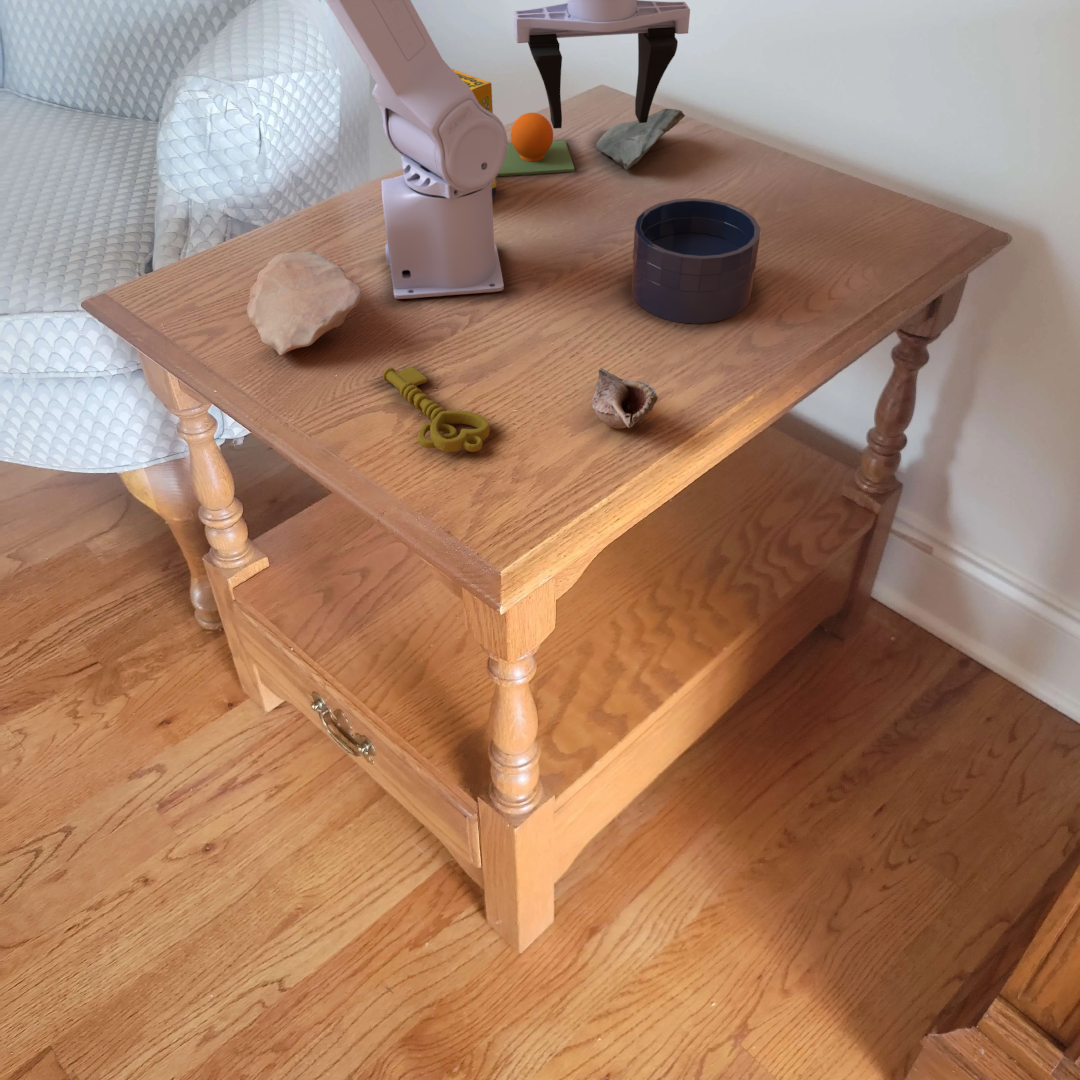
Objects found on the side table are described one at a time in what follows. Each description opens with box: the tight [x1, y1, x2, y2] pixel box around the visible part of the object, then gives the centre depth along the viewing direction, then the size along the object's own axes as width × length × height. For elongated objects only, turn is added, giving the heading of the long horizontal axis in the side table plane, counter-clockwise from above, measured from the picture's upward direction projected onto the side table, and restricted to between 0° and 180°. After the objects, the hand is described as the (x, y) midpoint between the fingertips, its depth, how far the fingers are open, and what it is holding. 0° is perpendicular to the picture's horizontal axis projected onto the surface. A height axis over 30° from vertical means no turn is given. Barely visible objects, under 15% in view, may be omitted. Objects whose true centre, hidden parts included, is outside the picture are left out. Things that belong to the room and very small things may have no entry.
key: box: [382, 366, 491, 453], centre depth 75 cm, size 12×1×5 cm
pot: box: [631, 197, 762, 325], centre depth 85 cm, size 10×10×6 cm
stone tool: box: [246, 250, 363, 356], centre depth 84 cm, size 9×5×15 cm
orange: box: [510, 112, 554, 162], centre depth 104 cm, size 4×4×4 cm
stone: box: [595, 108, 686, 171], centre depth 105 cm, size 11×4×10 cm
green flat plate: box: [496, 139, 576, 178], centre depth 106 cm, size 8×7×1 cm
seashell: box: [591, 367, 659, 429], centre depth 73 cm, size 4×8×4 cm
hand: (598, 121), depth 90 cm, fingers open, 7 cm apart
